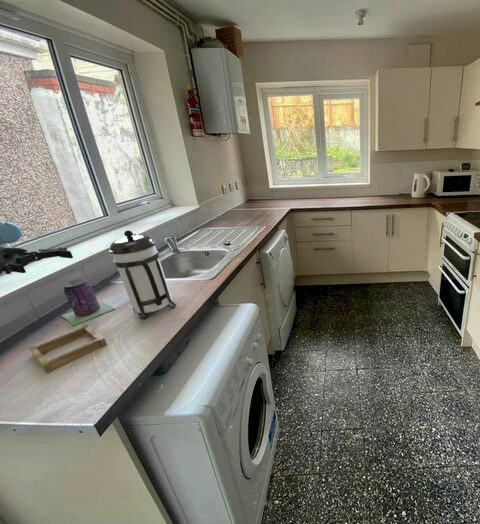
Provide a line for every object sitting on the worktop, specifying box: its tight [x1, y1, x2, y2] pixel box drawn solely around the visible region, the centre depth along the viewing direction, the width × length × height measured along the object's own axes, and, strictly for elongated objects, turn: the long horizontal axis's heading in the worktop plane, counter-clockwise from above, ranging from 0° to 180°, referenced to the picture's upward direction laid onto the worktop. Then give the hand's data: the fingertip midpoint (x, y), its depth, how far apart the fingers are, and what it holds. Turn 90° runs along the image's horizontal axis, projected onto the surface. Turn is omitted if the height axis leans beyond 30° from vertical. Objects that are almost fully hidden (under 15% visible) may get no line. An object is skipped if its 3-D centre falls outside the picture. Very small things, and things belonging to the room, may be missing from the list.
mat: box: [61, 300, 116, 327], centre depth 105 cm, size 12×12×1 cm
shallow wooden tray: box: [29, 324, 108, 374], centre depth 85 cm, size 14×13×2 cm
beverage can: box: [62, 278, 100, 316], centre depth 103 cm, size 7×7×12 cm
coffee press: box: [108, 229, 177, 321], centre depth 99 cm, size 17×16×30 cm
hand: (48, 261), depth 100 cm, fingers open, 13 cm apart
